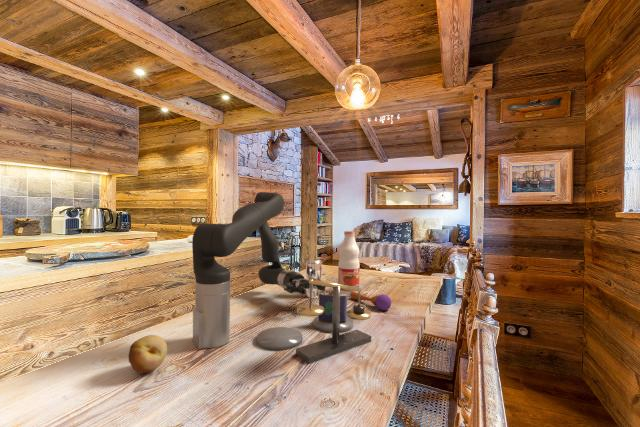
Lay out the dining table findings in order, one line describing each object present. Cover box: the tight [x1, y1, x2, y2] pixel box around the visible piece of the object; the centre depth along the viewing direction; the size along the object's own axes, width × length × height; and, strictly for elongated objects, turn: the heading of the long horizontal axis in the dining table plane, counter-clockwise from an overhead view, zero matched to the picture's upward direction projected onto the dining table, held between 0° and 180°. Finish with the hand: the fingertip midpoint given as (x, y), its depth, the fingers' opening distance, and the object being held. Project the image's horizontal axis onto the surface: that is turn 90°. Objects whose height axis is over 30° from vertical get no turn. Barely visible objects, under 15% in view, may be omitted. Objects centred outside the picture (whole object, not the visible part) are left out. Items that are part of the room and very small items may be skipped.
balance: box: [295, 279, 372, 365], centre depth 85 cm, size 24×7×20 cm, turn 127°
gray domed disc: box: [256, 326, 303, 351], centre depth 89 cm, size 13×13×1 cm
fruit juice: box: [337, 230, 361, 298], centre depth 138 cm, size 9×9×28 cm
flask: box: [318, 288, 348, 323], centre depth 101 cm, size 9×3×11 cm, turn 84°
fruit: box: [127, 334, 168, 374], centre depth 71 cm, size 8×8×8 cm
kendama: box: [350, 291, 392, 312], centre depth 123 cm, size 6×6×20 cm
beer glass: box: [305, 260, 323, 299], centre depth 133 cm, size 7×7×15 cm
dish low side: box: [312, 316, 354, 334], centre depth 101 cm, size 13×13×1 cm
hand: (315, 289), depth 109 cm, fingers open, 8 cm apart
